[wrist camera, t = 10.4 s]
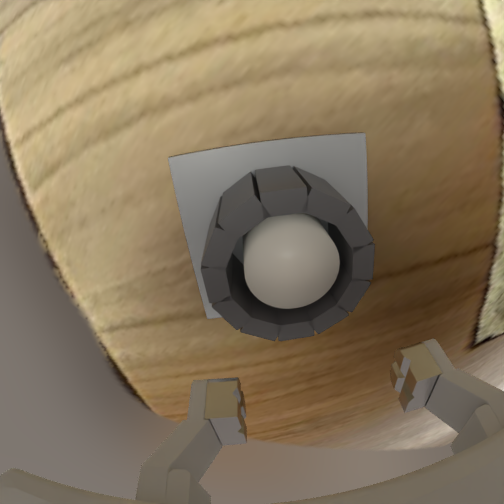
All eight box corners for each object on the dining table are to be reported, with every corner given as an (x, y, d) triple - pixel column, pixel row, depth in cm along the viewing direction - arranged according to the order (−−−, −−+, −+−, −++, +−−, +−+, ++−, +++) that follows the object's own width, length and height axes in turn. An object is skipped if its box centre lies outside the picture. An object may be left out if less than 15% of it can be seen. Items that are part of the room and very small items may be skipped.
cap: (316, 192, 19) (338, 217, 15) (321, 262, 21) (339, 300, 17) (236, 203, 19) (236, 232, 15) (248, 273, 21) (251, 314, 17)
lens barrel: (362, 132, 17) (404, 145, 13) (362, 292, 23) (387, 338, 18) (169, 156, 18) (143, 177, 13) (207, 315, 23) (202, 368, 18)
